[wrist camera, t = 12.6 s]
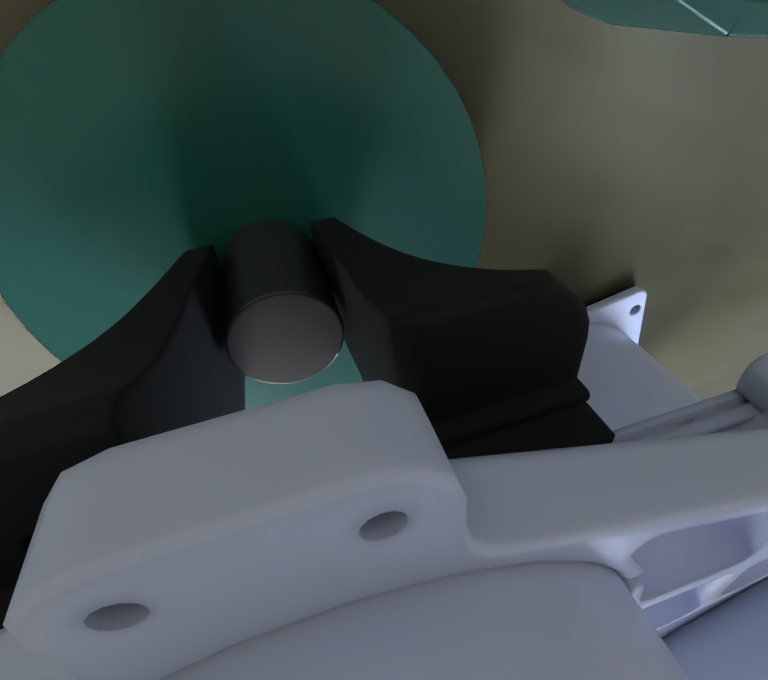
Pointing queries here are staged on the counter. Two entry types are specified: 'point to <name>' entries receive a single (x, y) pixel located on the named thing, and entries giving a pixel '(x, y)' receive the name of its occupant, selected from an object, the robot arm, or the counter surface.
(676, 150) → the counter surface
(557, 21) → the counter surface
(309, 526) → the robot arm
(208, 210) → the tin lid
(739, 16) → the tin
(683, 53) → the counter surface
